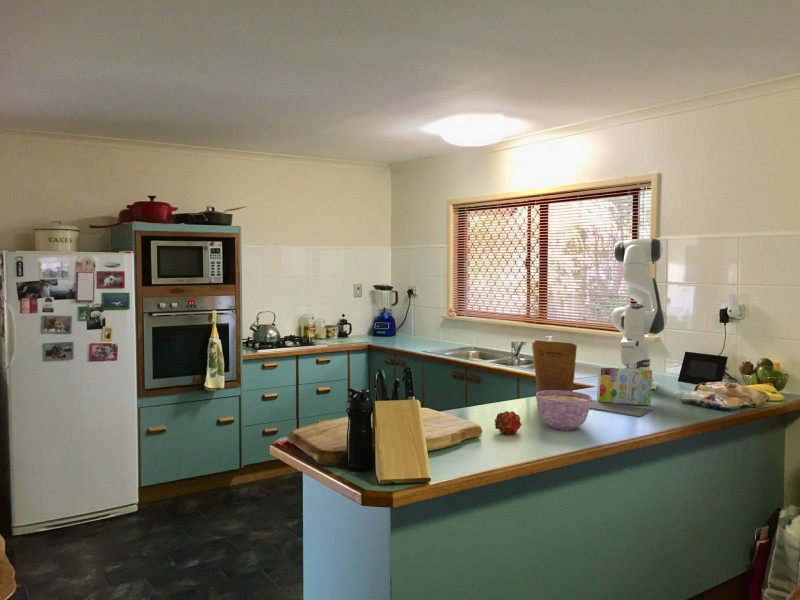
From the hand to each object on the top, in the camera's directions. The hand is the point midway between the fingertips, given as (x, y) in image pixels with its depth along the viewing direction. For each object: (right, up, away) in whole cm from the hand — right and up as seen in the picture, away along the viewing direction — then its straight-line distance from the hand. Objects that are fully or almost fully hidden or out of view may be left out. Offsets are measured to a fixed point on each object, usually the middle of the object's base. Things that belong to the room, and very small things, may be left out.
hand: (632, 372), depth 291 cm
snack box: (-6, -12, -7) cm, 16 cm away
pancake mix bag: (-40, -13, -22) cm, 47 cm away
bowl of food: (-43, -15, -50) cm, 67 cm away
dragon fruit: (-64, -15, -60) cm, 89 cm away
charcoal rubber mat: (-13, -13, -17) cm, 25 cm away
